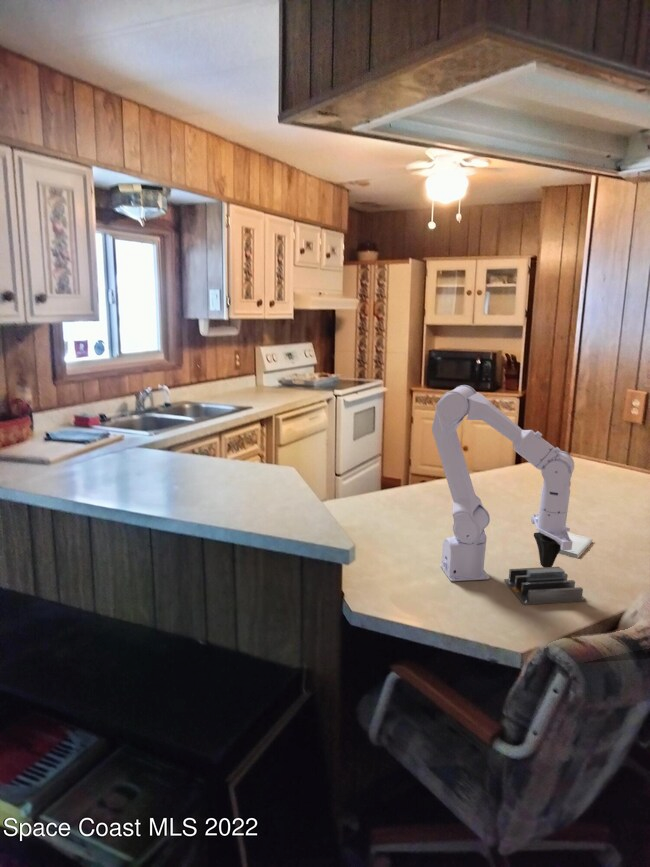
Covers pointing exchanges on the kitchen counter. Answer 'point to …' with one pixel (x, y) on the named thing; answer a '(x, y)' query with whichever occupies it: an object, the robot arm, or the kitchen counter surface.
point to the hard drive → (577, 545)
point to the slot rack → (543, 589)
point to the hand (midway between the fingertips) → (546, 565)
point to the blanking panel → (545, 575)
